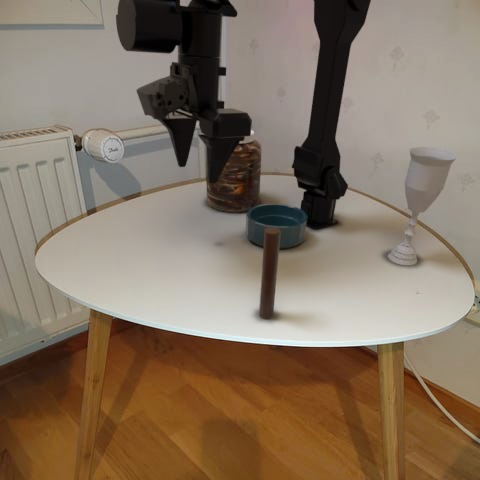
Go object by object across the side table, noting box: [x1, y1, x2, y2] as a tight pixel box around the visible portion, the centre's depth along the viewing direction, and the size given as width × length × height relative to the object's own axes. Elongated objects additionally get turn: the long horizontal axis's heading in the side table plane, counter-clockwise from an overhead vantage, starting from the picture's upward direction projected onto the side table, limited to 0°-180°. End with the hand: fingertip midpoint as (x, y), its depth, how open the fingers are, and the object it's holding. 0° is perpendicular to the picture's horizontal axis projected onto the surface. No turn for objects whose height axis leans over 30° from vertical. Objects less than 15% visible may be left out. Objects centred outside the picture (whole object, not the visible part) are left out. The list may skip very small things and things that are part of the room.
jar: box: [205, 129, 262, 213], centre depth 89 cm, size 12×12×15 cm
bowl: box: [245, 203, 308, 250], centre depth 79 cm, size 11×11×4 cm
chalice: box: [387, 146, 458, 266], centre depth 69 cm, size 7×7×18 cm
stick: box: [258, 227, 281, 320], centre depth 56 cm, size 2×2×13 cm
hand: (196, 174), depth 65 cm, fingers open, 9 cm apart
